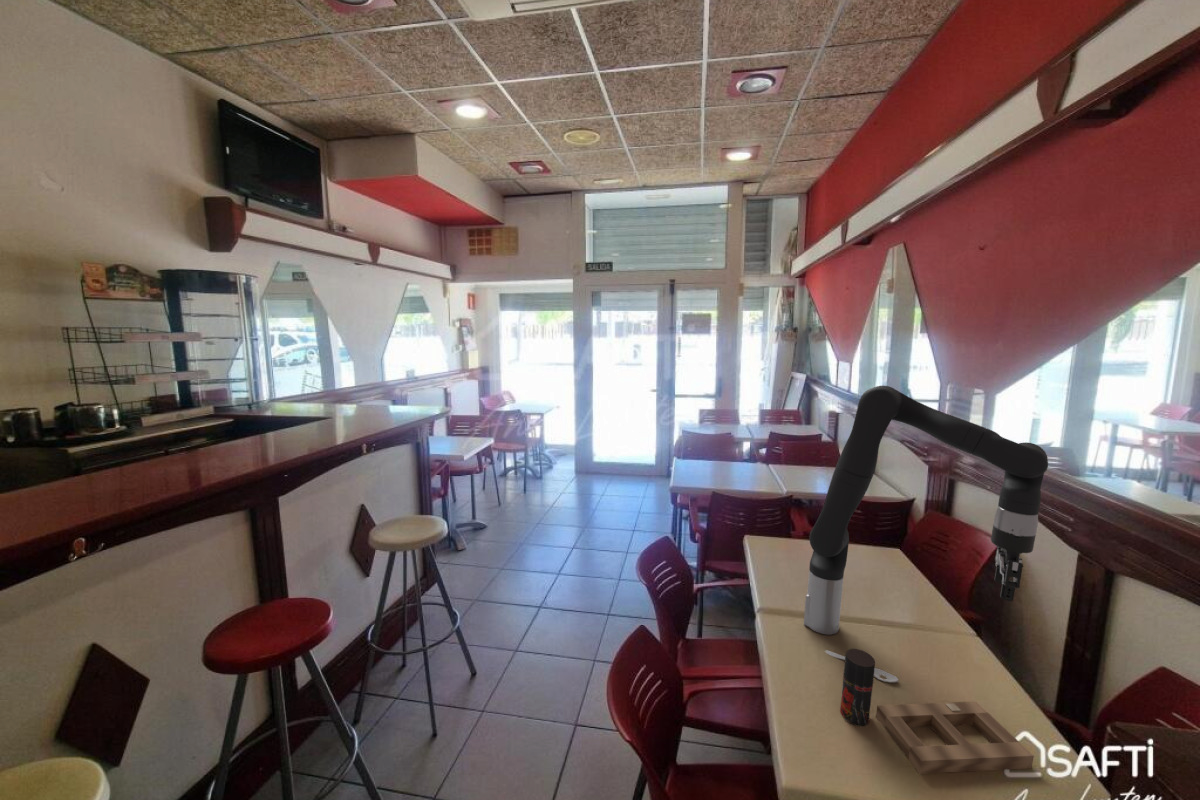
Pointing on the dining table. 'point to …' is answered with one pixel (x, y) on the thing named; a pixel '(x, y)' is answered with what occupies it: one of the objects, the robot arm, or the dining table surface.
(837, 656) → the spoon
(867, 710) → the deodorant
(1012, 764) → the wooden frame
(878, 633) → the dining table surface
